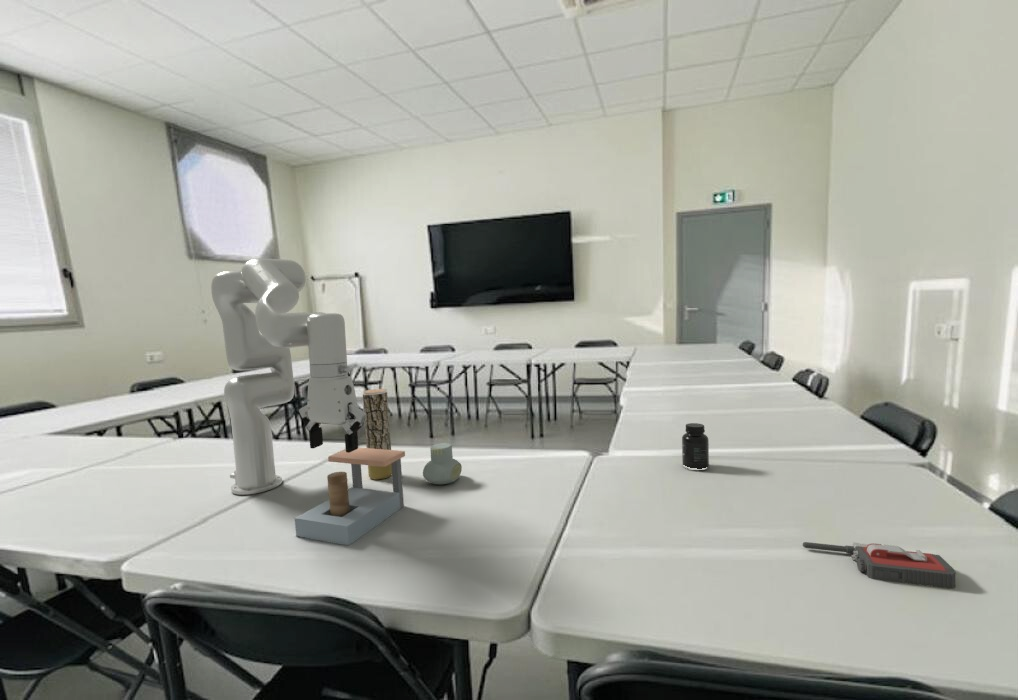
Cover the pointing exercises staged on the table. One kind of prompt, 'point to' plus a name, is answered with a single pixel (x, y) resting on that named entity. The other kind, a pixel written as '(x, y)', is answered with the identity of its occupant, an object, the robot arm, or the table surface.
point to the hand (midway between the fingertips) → (334, 448)
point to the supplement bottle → (695, 447)
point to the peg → (338, 494)
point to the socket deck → (356, 500)
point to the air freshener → (442, 465)
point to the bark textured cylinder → (377, 428)
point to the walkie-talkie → (896, 564)
